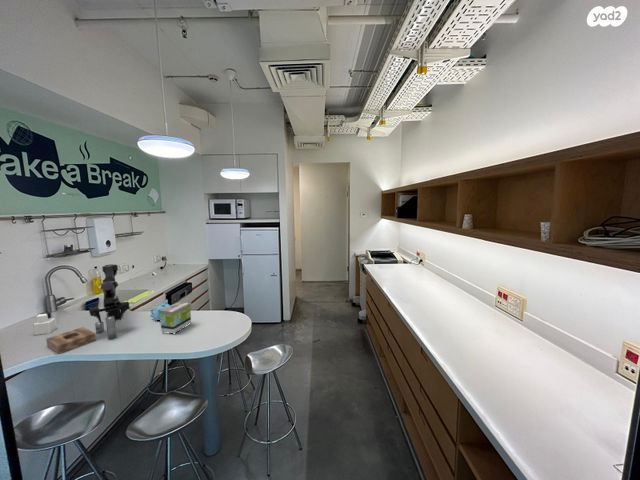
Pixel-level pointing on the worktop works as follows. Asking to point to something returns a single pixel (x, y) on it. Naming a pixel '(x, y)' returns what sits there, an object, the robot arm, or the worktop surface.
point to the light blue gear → (158, 310)
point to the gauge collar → (70, 340)
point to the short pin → (99, 327)
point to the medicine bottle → (44, 324)
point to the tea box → (175, 317)
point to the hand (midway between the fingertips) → (110, 321)
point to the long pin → (111, 327)
